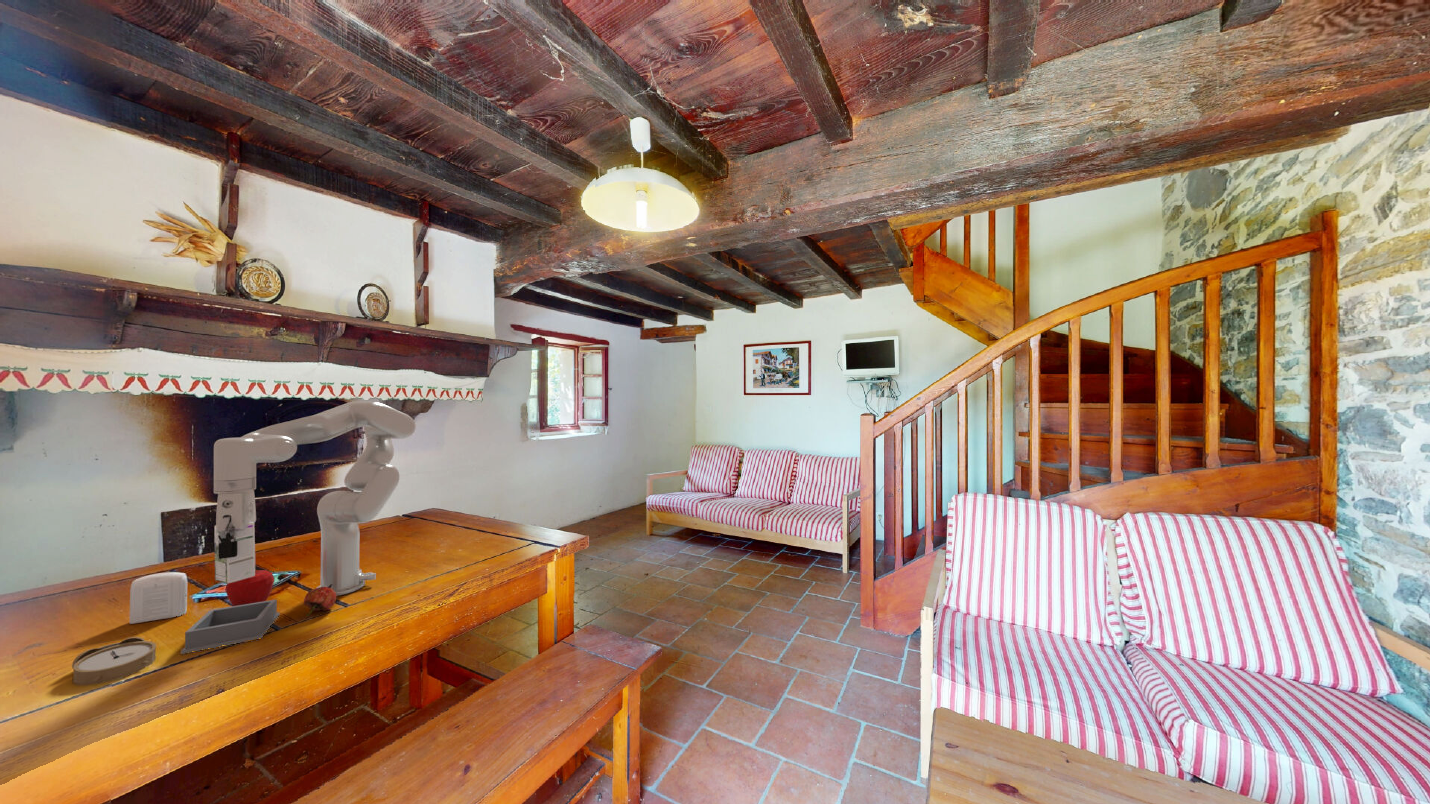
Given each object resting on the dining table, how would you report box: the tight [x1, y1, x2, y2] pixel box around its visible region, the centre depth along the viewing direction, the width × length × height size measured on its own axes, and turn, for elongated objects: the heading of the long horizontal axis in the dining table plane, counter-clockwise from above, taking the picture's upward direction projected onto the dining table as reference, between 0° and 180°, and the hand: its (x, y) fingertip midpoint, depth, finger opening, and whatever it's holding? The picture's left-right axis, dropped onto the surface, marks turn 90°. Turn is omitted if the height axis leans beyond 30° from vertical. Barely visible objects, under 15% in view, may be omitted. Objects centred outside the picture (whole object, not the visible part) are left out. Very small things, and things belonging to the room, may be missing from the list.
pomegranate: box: [303, 584, 337, 616], centre depth 129 cm, size 7×7×10 cm
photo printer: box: [129, 571, 188, 625], centre depth 124 cm, size 10×4×12 cm, turn 123°
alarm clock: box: [71, 636, 157, 686], centre depth 102 cm, size 11×5×15 cm
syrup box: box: [214, 522, 256, 584], centre depth 116 cm, size 6×6×14 cm
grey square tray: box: [180, 599, 281, 655], centre depth 116 cm, size 14×14×5 cm
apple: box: [224, 569, 275, 606], centre depth 131 cm, size 10×10×11 cm
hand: (235, 551), depth 116 cm, fingers closed on syrup box, 8 cm apart
